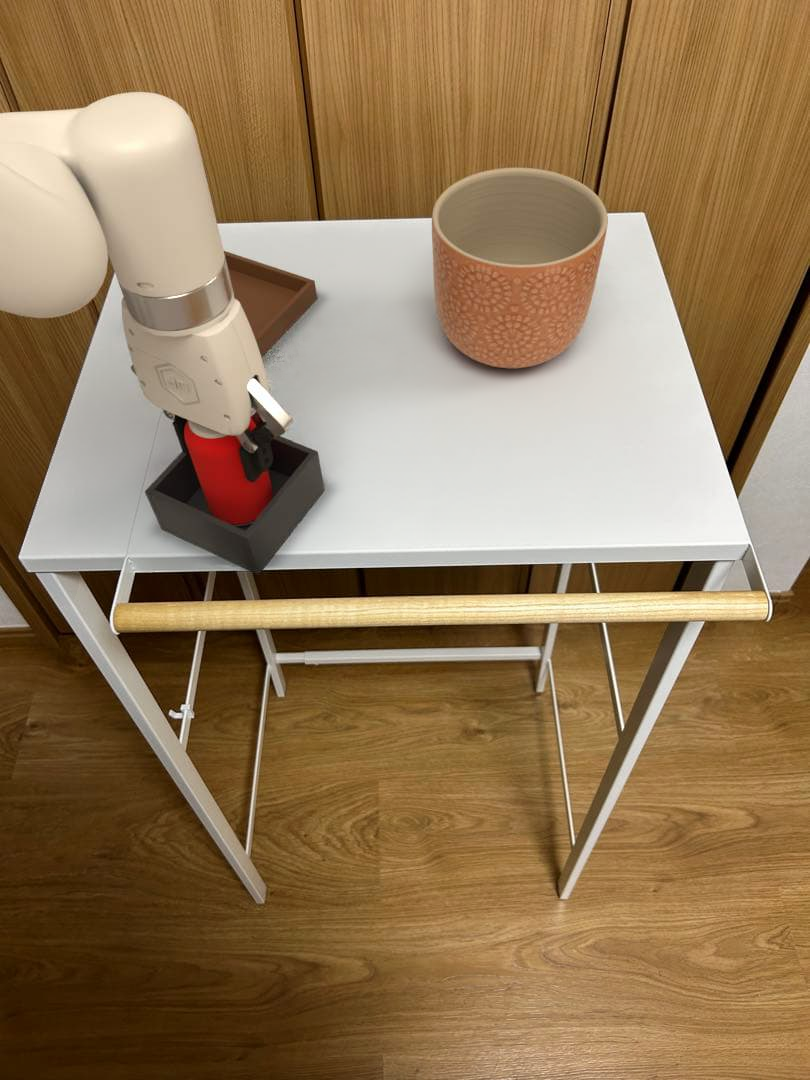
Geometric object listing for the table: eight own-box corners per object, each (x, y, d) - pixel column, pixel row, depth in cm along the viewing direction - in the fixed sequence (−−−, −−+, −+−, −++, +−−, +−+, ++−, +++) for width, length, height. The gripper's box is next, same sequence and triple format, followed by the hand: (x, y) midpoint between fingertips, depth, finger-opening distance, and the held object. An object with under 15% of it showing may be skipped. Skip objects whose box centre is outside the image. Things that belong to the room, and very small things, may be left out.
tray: (145, 326, 96) (138, 307, 94) (213, 264, 103) (209, 245, 101) (252, 366, 91) (248, 348, 89) (317, 299, 98) (314, 280, 96)
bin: (161, 529, 78) (144, 491, 74) (231, 451, 84) (219, 411, 79) (258, 575, 75) (247, 538, 70) (324, 490, 81) (318, 451, 76)
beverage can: (199, 524, 78) (166, 434, 68) (226, 475, 81) (198, 384, 72) (260, 537, 77) (235, 449, 67) (284, 487, 80) (264, 396, 70)
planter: (582, 291, 97) (603, 167, 85) (589, 393, 87) (613, 269, 75) (437, 287, 99) (437, 165, 86) (427, 387, 89) (425, 264, 76)
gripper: (49, 282, 60) (125, 452, 74) (245, 355, 54) (286, 523, 69) (118, 227, 64) (177, 399, 78) (308, 291, 58) (333, 462, 73)
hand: (228, 455), depth 73 cm, fingers closed on beverage can, 6 cm apart
